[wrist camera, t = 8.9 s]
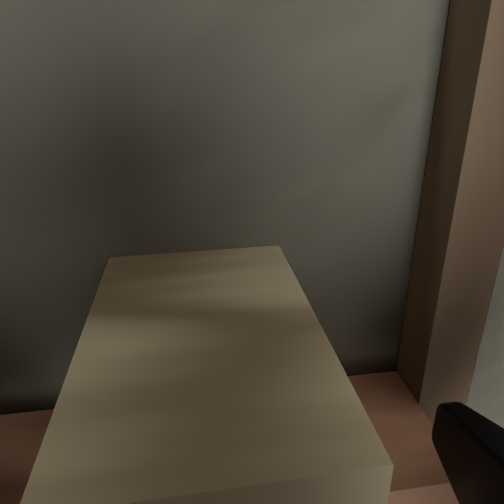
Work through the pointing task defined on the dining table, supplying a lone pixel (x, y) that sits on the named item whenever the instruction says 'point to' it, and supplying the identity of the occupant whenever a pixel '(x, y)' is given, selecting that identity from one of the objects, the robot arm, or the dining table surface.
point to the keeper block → (207, 393)
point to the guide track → (412, 272)
